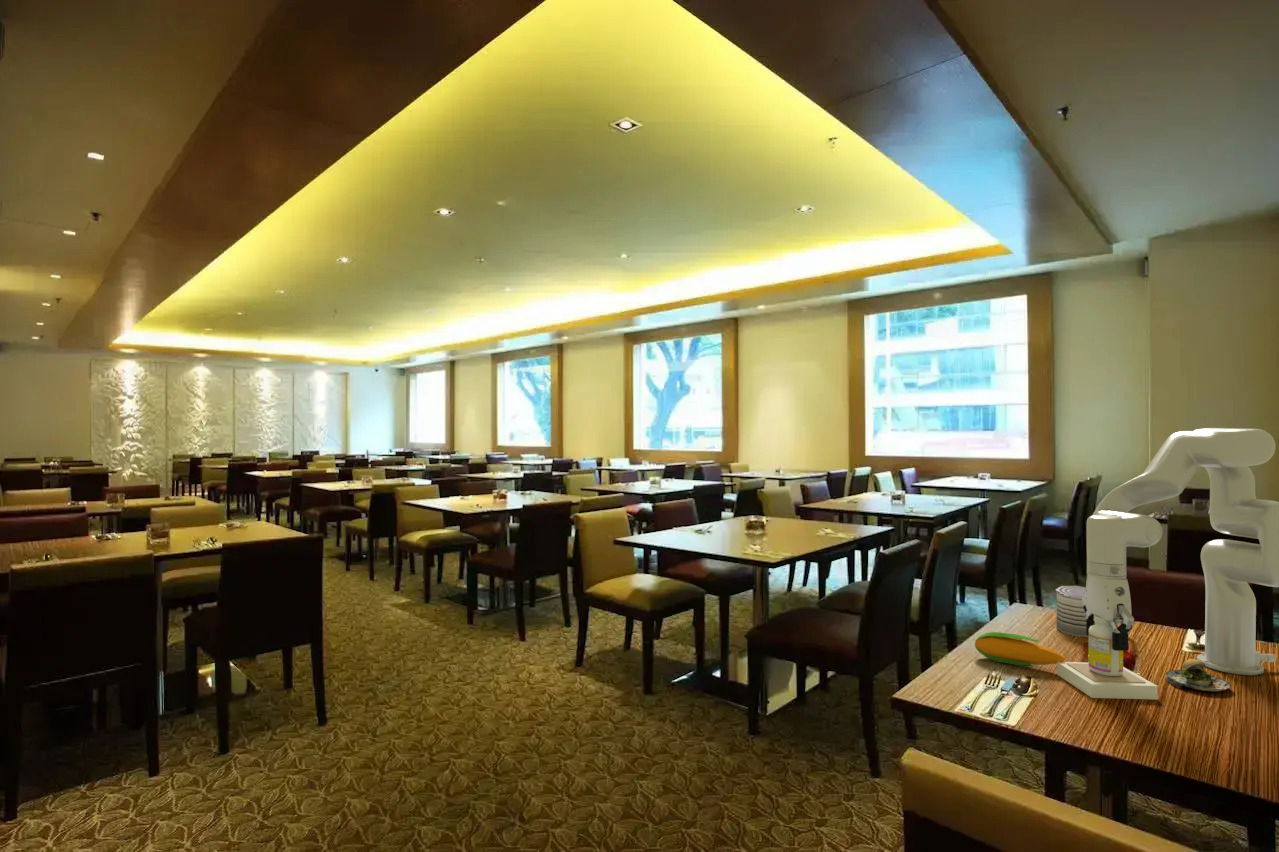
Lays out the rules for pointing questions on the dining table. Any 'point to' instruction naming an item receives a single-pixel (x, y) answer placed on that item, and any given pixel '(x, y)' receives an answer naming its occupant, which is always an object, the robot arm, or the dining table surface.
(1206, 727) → the dining table surface
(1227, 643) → the robot arm
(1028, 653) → the corn
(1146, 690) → the base
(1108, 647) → the supplement bottle
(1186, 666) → the burger
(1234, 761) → the dining table surface
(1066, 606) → the can
